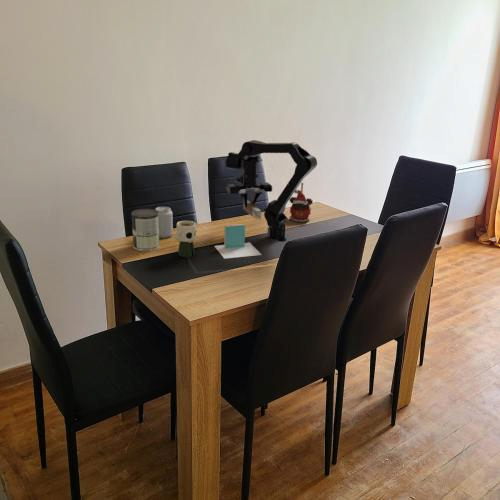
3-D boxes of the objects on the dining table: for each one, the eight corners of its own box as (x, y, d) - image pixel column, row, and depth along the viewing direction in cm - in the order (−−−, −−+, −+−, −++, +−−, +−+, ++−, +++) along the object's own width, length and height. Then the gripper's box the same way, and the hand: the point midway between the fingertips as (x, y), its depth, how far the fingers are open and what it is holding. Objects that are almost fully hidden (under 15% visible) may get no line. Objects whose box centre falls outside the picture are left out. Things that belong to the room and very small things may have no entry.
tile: (243, 245, 203) (243, 223, 200) (244, 246, 201) (245, 224, 198) (224, 247, 200) (224, 225, 197) (225, 248, 199) (225, 226, 196)
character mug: (184, 262, 186) (183, 228, 181) (169, 257, 190) (168, 224, 185) (203, 254, 194) (203, 221, 190) (189, 250, 198) (188, 218, 193)
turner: (248, 208, 220) (248, 200, 219) (261, 219, 206) (261, 210, 205) (242, 208, 219) (243, 200, 218) (255, 219, 205) (256, 211, 204)
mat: (249, 244, 206) (249, 242, 206) (261, 256, 194) (261, 254, 194) (214, 247, 201) (214, 245, 201) (224, 260, 189) (224, 258, 189)
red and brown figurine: (312, 218, 243) (315, 181, 237) (309, 223, 235) (312, 186, 228) (290, 216, 246) (292, 179, 239) (287, 221, 237) (289, 184, 231)
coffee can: (127, 247, 199) (125, 212, 194) (146, 240, 207) (145, 207, 202) (145, 253, 193) (144, 218, 188) (165, 246, 201) (164, 212, 196)
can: (169, 239, 209) (168, 211, 204) (152, 237, 210) (151, 210, 206) (175, 233, 215) (174, 206, 211) (158, 232, 217) (157, 205, 212)
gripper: (263, 166, 220) (262, 201, 226) (222, 168, 214) (222, 203, 220) (273, 172, 211) (271, 208, 216) (230, 173, 204) (230, 211, 210)
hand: (248, 207), depth 216 cm, fingers closed on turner, 2 cm apart
